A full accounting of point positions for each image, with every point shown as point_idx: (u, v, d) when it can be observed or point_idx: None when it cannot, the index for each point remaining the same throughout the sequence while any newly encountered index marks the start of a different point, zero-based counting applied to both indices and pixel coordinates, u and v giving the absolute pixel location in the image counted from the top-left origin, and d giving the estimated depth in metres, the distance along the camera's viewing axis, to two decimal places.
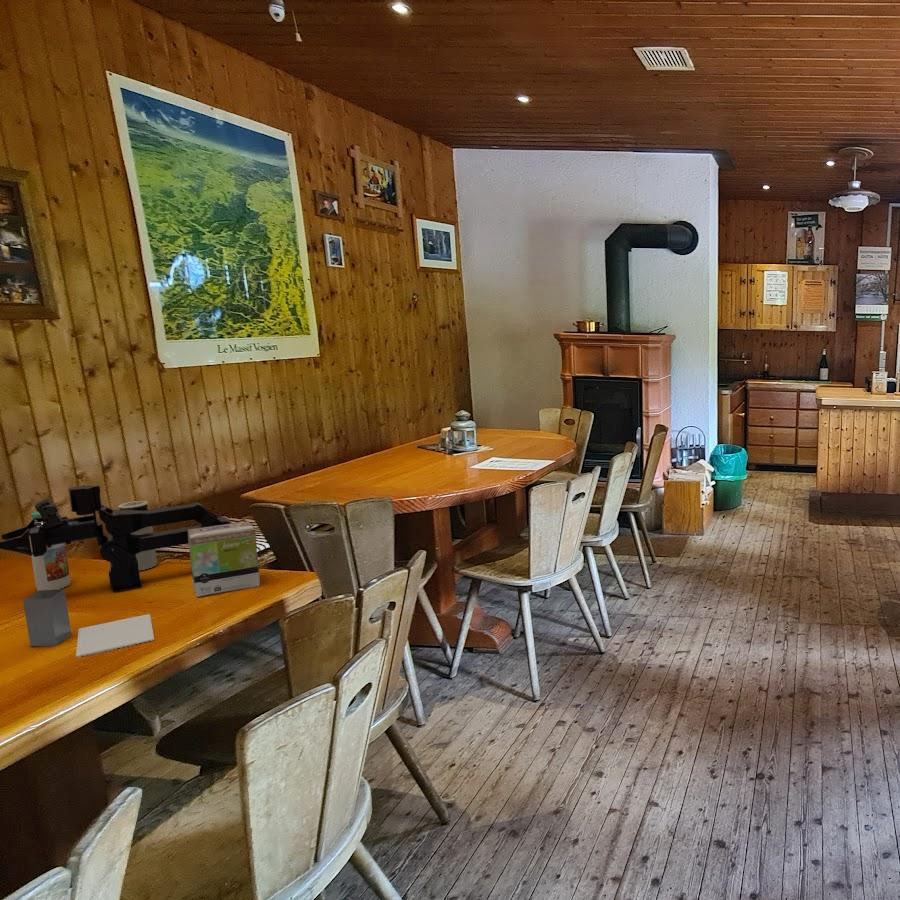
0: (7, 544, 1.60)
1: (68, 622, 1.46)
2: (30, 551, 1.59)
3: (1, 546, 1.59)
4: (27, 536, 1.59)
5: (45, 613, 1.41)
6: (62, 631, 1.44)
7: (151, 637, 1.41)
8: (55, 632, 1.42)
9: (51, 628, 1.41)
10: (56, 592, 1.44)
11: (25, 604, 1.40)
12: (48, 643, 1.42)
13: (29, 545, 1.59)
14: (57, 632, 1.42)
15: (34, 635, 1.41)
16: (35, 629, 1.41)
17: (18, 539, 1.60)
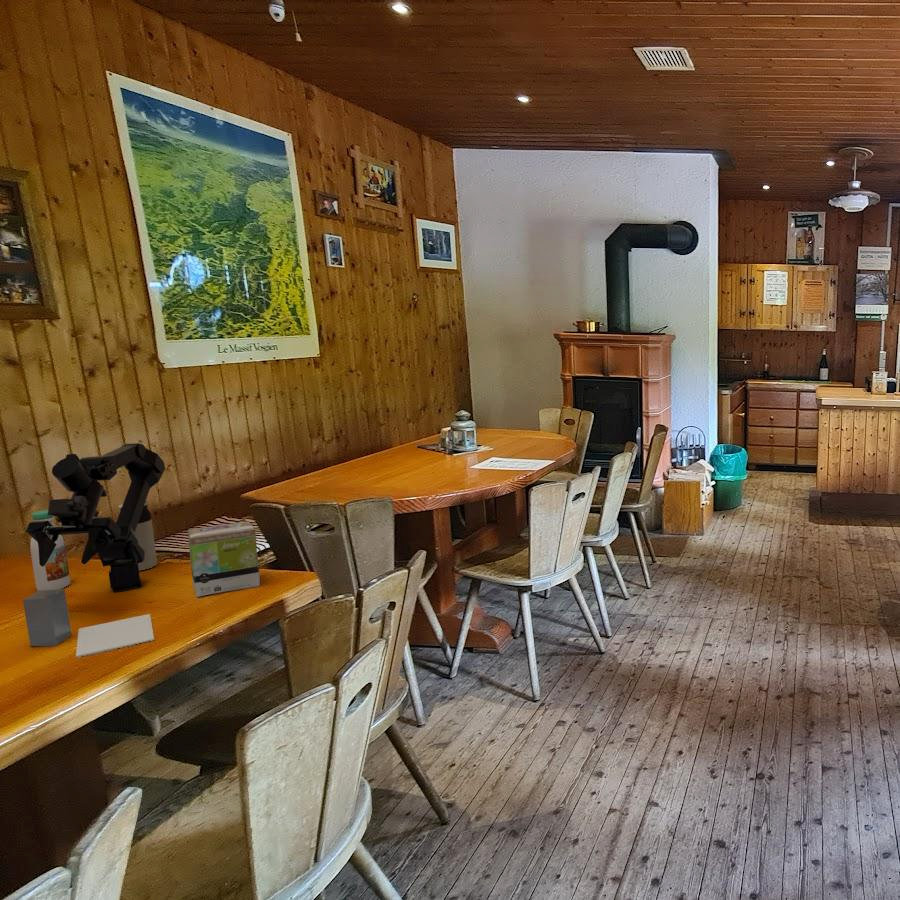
0: (88, 553, 1.51)
1: (68, 622, 1.46)
2: (111, 539, 1.55)
3: (87, 559, 1.51)
4: (103, 531, 1.53)
5: (45, 613, 1.41)
6: (62, 631, 1.44)
7: (151, 637, 1.41)
8: (55, 632, 1.42)
9: (51, 628, 1.41)
10: (56, 592, 1.44)
11: (25, 604, 1.40)
12: (48, 643, 1.42)
13: (108, 536, 1.54)
14: (57, 632, 1.42)
15: (34, 635, 1.41)
16: (35, 629, 1.41)
17: (94, 542, 1.52)
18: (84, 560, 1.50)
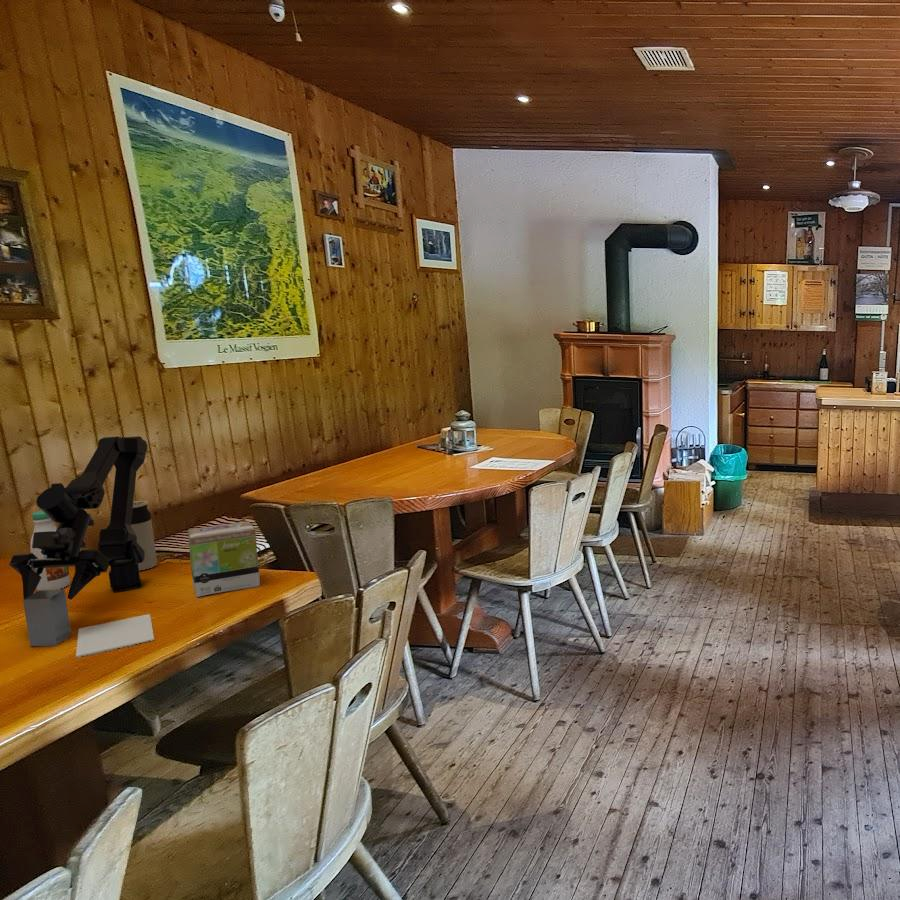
0: (75, 588, 1.45)
1: (68, 622, 1.46)
2: (99, 572, 1.49)
3: (73, 594, 1.45)
4: (91, 564, 1.46)
5: (45, 613, 1.41)
6: (62, 631, 1.44)
7: (151, 637, 1.41)
8: (55, 632, 1.42)
9: (51, 628, 1.41)
10: (56, 592, 1.44)
11: (25, 604, 1.40)
12: (48, 643, 1.42)
13: (95, 569, 1.48)
14: (57, 632, 1.42)
15: (34, 635, 1.41)
16: (35, 629, 1.41)
17: (81, 575, 1.46)
18: (71, 595, 1.44)
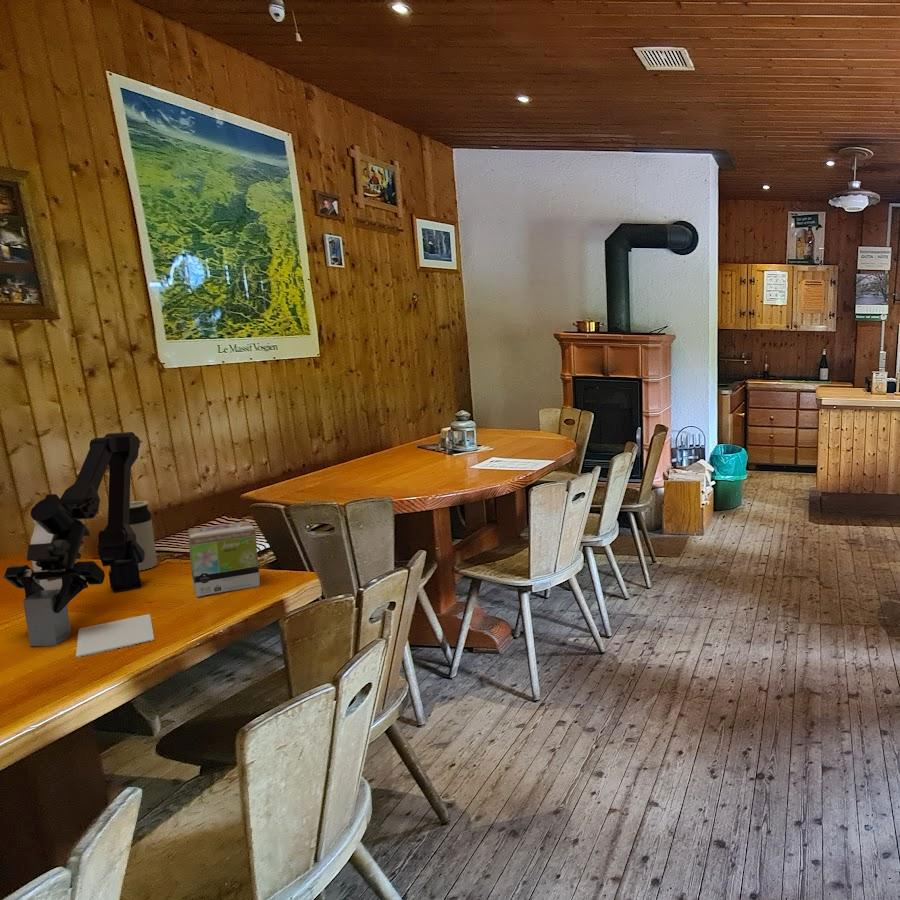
0: (62, 601, 1.43)
1: (68, 622, 1.46)
2: (86, 584, 1.47)
3: (60, 607, 1.43)
4: (78, 577, 1.44)
5: (45, 613, 1.41)
6: (62, 631, 1.44)
7: (151, 637, 1.41)
8: (55, 632, 1.41)
9: (51, 628, 1.41)
10: (56, 592, 1.44)
11: (25, 604, 1.40)
12: (48, 643, 1.42)
13: (83, 581, 1.46)
14: (57, 632, 1.42)
15: (34, 635, 1.41)
16: (35, 629, 1.41)
17: (68, 588, 1.44)
18: (57, 609, 1.42)
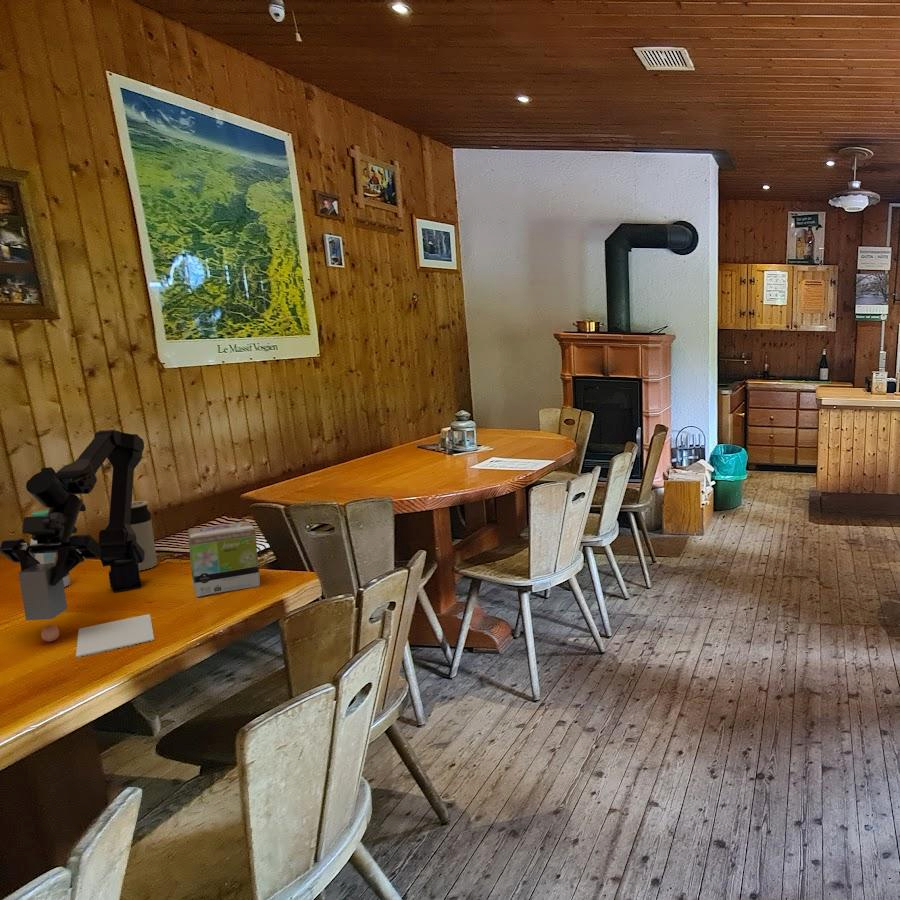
0: (58, 574, 1.42)
1: (64, 596, 1.45)
2: (82, 558, 1.46)
3: (56, 580, 1.42)
4: (74, 550, 1.44)
5: (41, 586, 1.40)
6: (58, 605, 1.43)
7: (151, 637, 1.41)
8: (51, 605, 1.41)
9: (47, 601, 1.40)
10: (52, 565, 1.43)
11: (20, 577, 1.40)
12: (43, 616, 1.41)
13: (79, 555, 1.45)
14: (52, 605, 1.41)
15: (30, 608, 1.40)
16: (31, 602, 1.40)
17: (63, 562, 1.43)
18: (53, 582, 1.41)
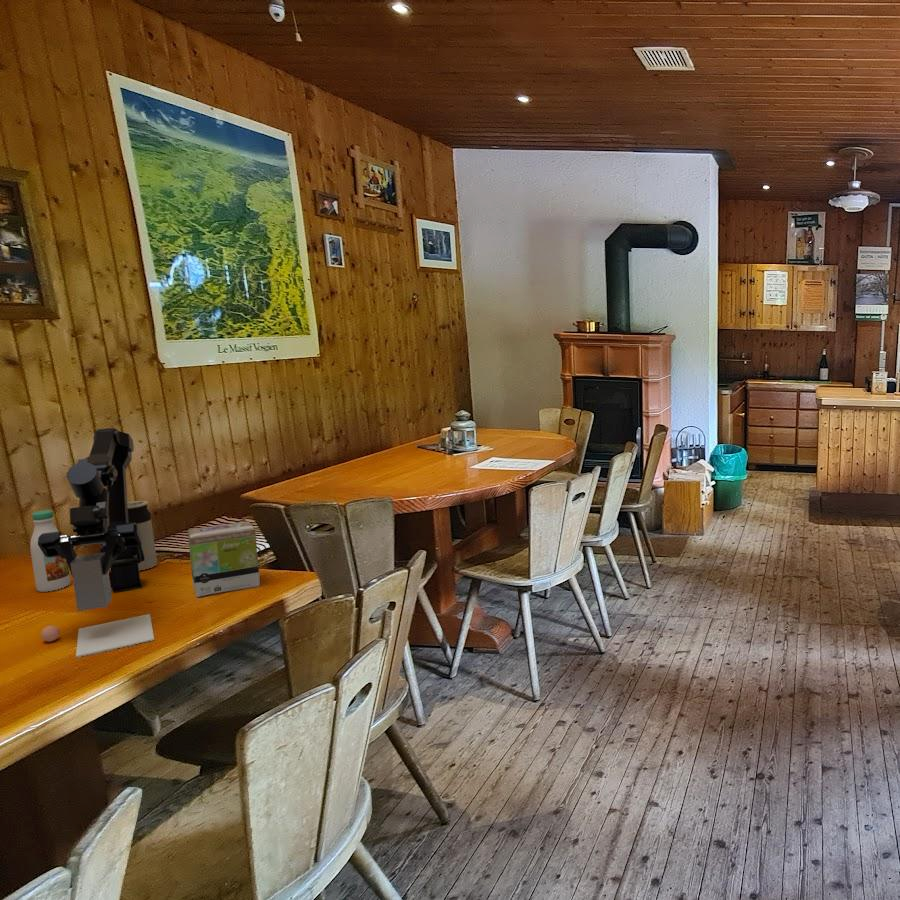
0: (108, 563, 1.44)
1: (109, 585, 1.47)
2: (125, 546, 1.49)
3: (107, 569, 1.43)
4: (122, 538, 1.46)
5: (95, 575, 1.41)
6: (108, 593, 1.44)
7: (151, 637, 1.41)
8: (105, 593, 1.42)
9: (101, 589, 1.42)
10: (100, 555, 1.44)
11: (73, 567, 1.40)
12: (97, 605, 1.42)
13: (124, 543, 1.48)
14: (105, 593, 1.43)
15: (82, 598, 1.41)
16: (83, 592, 1.41)
17: None
18: (106, 570, 1.43)
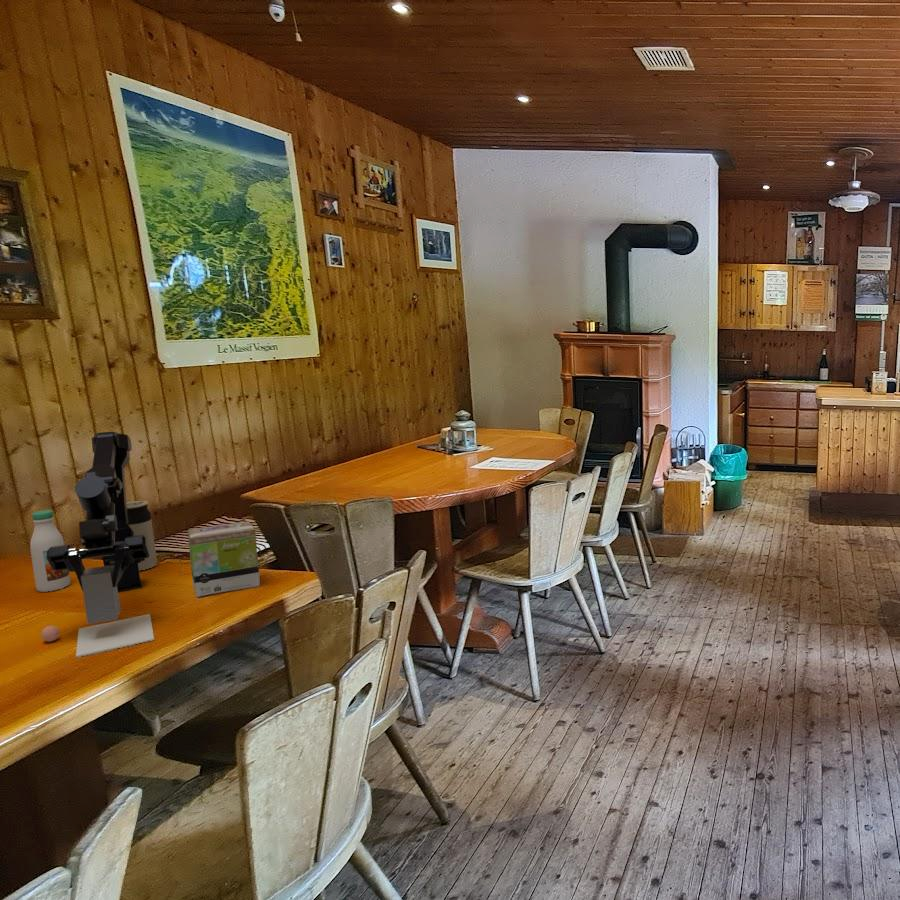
0: (117, 575, 1.45)
1: (118, 597, 1.48)
2: (133, 559, 1.50)
3: (117, 581, 1.44)
4: (130, 551, 1.47)
5: (105, 588, 1.42)
6: (117, 606, 1.45)
7: (151, 637, 1.41)
8: (115, 606, 1.43)
9: (112, 602, 1.43)
10: (109, 567, 1.45)
11: (83, 580, 1.40)
12: (107, 618, 1.43)
13: (132, 555, 1.49)
14: (115, 605, 1.44)
15: (92, 611, 1.42)
16: (94, 605, 1.42)
17: None
18: (115, 582, 1.44)
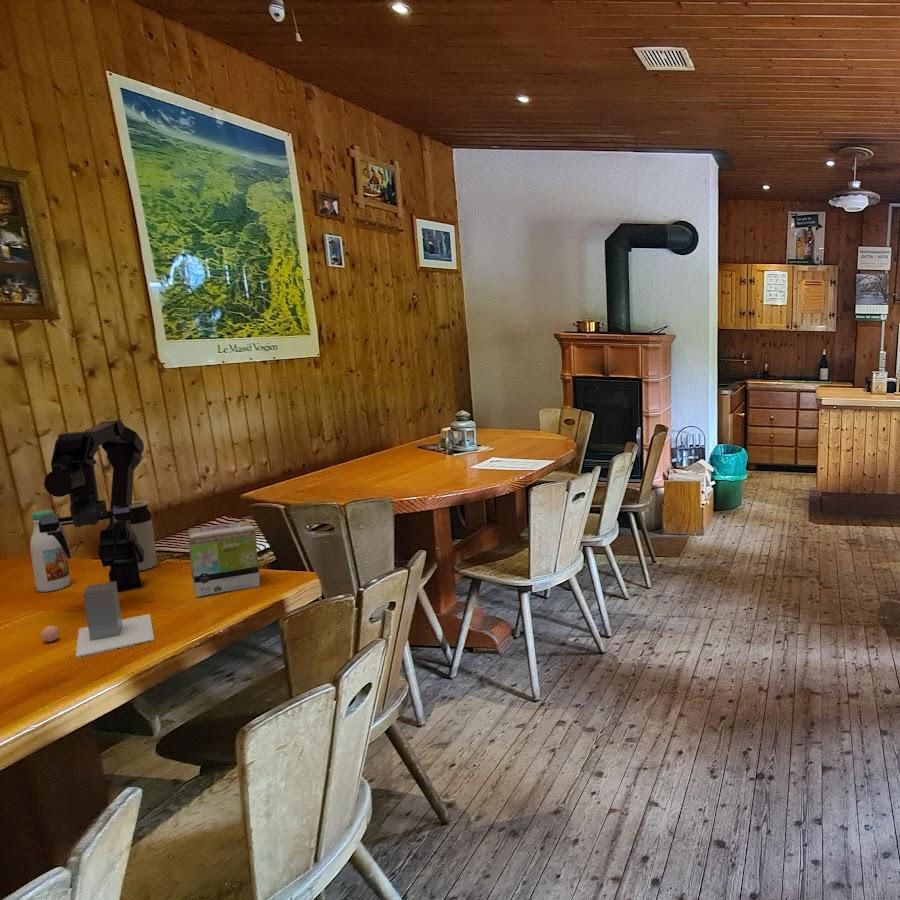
0: None
1: (120, 613, 1.48)
2: None
3: (116, 545, 1.62)
4: (127, 521, 1.61)
5: (108, 604, 1.42)
6: (119, 622, 1.46)
7: (151, 637, 1.41)
8: (117, 622, 1.43)
9: (114, 619, 1.43)
10: (111, 584, 1.45)
11: (85, 597, 1.41)
12: (110, 634, 1.43)
13: None
14: (118, 622, 1.44)
15: (94, 628, 1.42)
16: (96, 622, 1.42)
17: None
18: (116, 548, 1.61)
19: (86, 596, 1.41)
